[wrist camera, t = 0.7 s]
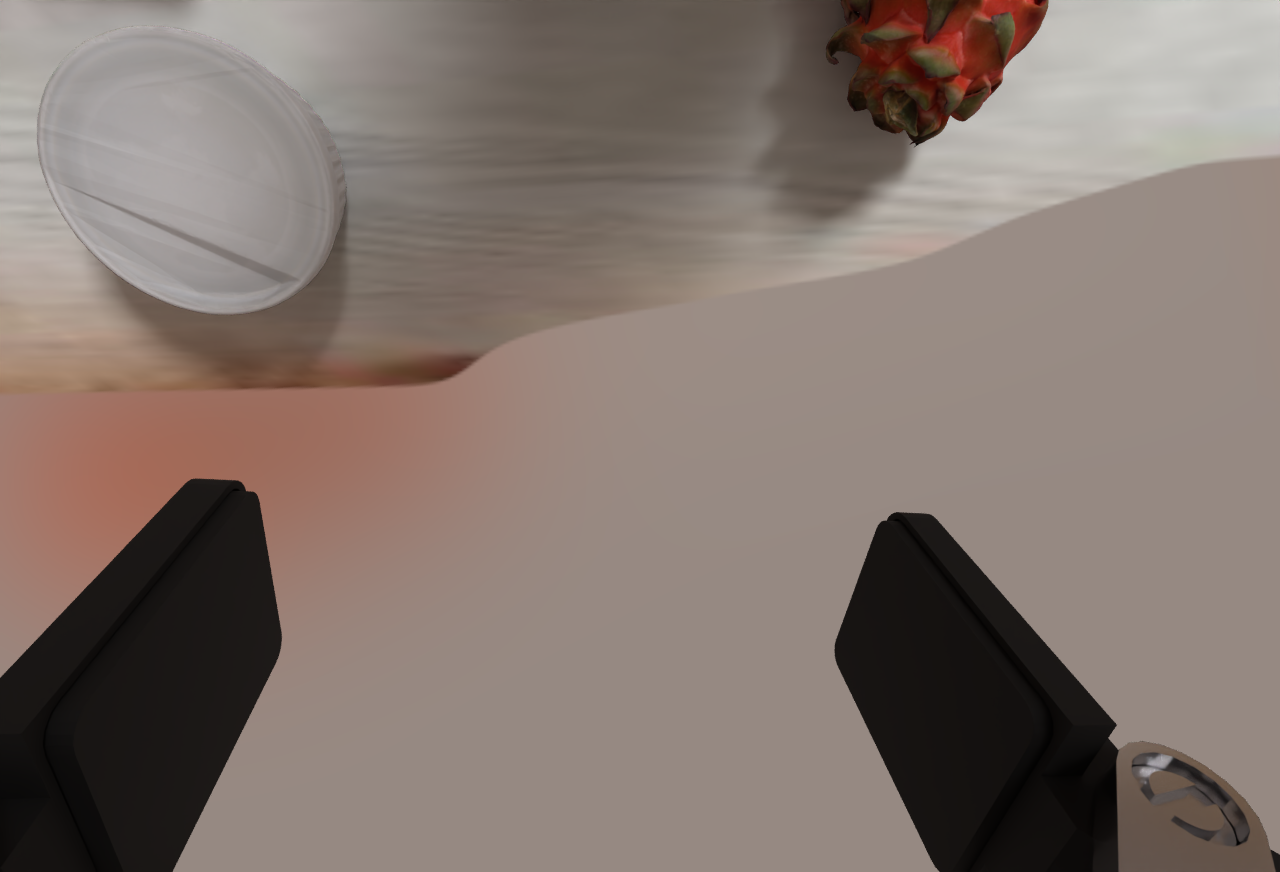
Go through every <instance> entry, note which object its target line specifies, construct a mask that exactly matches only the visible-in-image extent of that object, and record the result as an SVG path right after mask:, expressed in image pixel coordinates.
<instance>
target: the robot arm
mask: <svg viewBox="0 0 1280 872" xmlns="http://www.w3.org/2000/svg"><path fill="white" fill-rule="evenodd" d="M281 641H282V634H281V627H280V621H279V615H278V609H277V604H276V597H275V591H274V586H273V580H272V574H271V568H270V562H269V556H268V550H267V544H266V538H265V532H264V527H263V520H262V514H261V508H260V502H259V499H258V496H257V494H256V493H255V492H248V491H246V490H245V487H244V485H243V484H242V483H241V482H239V481H236V480H214V479H191V480H190V481H188V482H187V483H185V485H184V486H183V487H182V488H181V489H180V490H179V491H178V492H177V493H176V494H175V495H174V496H173V497H172V498H171V499H170V500H169V501H168V502H167V504H165V505H164V507H163V508H162V509H161V510H160V511H159V512H158V513H157V514H156V515H155V516H154V517H153V518H152V519H151V520H150V521H149V522H148V523H147V524H146V526H145V527H144V528H143V529H142V530H141V531H140V532H139V533H138V534H137V535H136V536H135V537H134V538H133V539H132V540H131V541H130V542H129V543H128V544H127V545H126V546H125V548H124V549H123V550H122V551H121V552H120V553H119V554H118V555H117V556H116V557H115V558H114V559H113V560H112V561H111V562H110V563H109V565H107V567H106V568H105V569H104V570H103V571H102V572H101V573H100V574H99V575H98V576H97V577H96V578H95V579H94V580H93V581H92V582H91V583H90V584H89V585H88V586H87V587H86V588H85V589H84V590H83V592H82V593H81V594H80V595H79V596H78V597H77V598H76V599H75V600H74V601H73V602H72V603H71V604H70V605H69V606H68V607H67V608H66V609H65V610H64V611H63V613H62V614H61V615H60V616H59V617H58V618H57V619H56V620H55V621H54V622H53V623H52V624H51V625H50V626H49V627H48V628H47V629H46V630H45V631H44V633H43V634H42V635H41V636H40V637H39V638H38V639H37V640H36V641H35V642H34V643H33V644H32V645H31V646H30V647H29V648H28V649H27V650H26V651H25V652H24V654H23V655H22V656H21V657H20V658H19V659H18V660H17V661H16V662H15V663H14V664H13V665H12V666H11V667H10V668H9V669H8V670H7V671H6V673H4V675H3V676H2V677H1V678H0V872H173V869H174V867H175V865H176V863H177V861H178V859H179V857H180V855H181V853H182V851H183V849H184V847H185V845H186V843H187V841H188V839H189V837H190V835H191V833H192V831H193V829H194V827H195V825H196V823H197V821H198V819H199V817H200V815H201V813H202V811H203V809H204V807H205V805H206V803H207V801H208V799H209V797H210V795H211V793H212V791H213V789H214V787H215V785H216V782H217V781H218V778H219V777H220V775H221V773H222V771H223V768H224V767H225V764H226V762H227V760H228V758H229V756H230V754H231V752H232V750H233V748H234V746H235V744H236V742H237V740H238V738H239V736H240V734H241V732H242V730H243V728H244V726H245V724H246V722H247V720H248V718H249V716H250V714H251V712H252V710H253V708H254V706H255V704H256V702H257V699H258V698H259V696H260V694H261V692H262V690H263V688H264V686H265V684H266V682H267V680H268V678H269V676H270V674H271V672H272V669H273V668H274V666H275V664H276V661H277V659H278V656H279V653H280V649H281ZM835 659H836V662H837V665H838V668H839V670H840V672H841V674H842V676H843V678H844V680H845V682H846V684H847V686H848V688H849V690H850V692H851V694H852V696H853V699H854V701H855V703H856V705H857V707H858V709H859V711H860V713H861V715H862V717H863V719H864V721H865V723H866V725H867V728H868V729H869V732H870V734H871V736H872V738H873V740H874V742H875V744H876V746H877V748H878V750H879V752H880V755H881V757H882V758H883V761H884V763H885V765H886V767H887V769H888V771H889V773H890V775H891V777H892V779H893V782H894V784H895V786H896V788H897V790H898V792H899V794H900V796H901V798H902V800H903V802H904V804H905V806H906V809H907V811H908V813H909V814H910V817H911V819H912V821H913V823H914V825H915V827H916V829H917V831H918V833H919V835H920V838H921V839H922V842H923V844H924V846H925V848H926V850H927V852H928V854H929V856H930V858H931V860H932V862H933V864H934V865H935V867H936V868H937V869H938V870H939V872H1280V855H1279V854H1278V853H1276V852H1274V851H1272V850H1270V847H1269V842H1268V838H1267V835H1266V832H1265V830H1264V828H1263V826H1262V823H1261V822H1260V819H1259V817H1258V816H1257V815H1256V813H1255V812H1254V811H1253V809H1252V808H1251V806H1250V805H1249V804H1248V803H1247V801H1246V800H1245V799H1244V798H1243V797H1242V796H1241V795H1240V794H1239V793H1238V792H1237V791H1236V790H1235V789H1234V788H1233V787H1232V786H1231V785H1230V784H1229V783H1228V782H1227V781H1225V780H1224V779H1223V778H1221V777H1220V776H1219V775H1217V774H1216V773H1215V772H1213V771H1212V770H1211V769H1209V768H1208V767H1206V766H1205V765H1203V764H1202V763H1200V762H1198V761H1196V760H1194V759H1193V758H1191V757H1189V756H1187V755H1186V754H1184V753H1182V752H1179V751H1177V750H1174V749H1171V748H1169V747H1166V746H1164V745H1161V744H1156V743H1150V742H1145V741H1139V742H1130V743H1127V744H1126V745H1125V746H1123V747H1122V748H1120V749H1119V750H1118V749H1117V748H1116V747H1115V746H1114V744H1113V743H1112V742H1111V741H1110V740H1109V739H1108V737H1109V736H1110V734H1111V733H1112V731H1113V730H1114V729H1115V727H1116V726H1117V725H1116V723H1115V722H1114V721H1113V720H1112V719H1111V718H1110V717H1109V715H1108V714H1107V713H1106V712H1105V711H1104V710H1103V709H1102V708H1101V706H1100V705H1099V704H1098V703H1097V702H1096V701H1095V699H1094V698H1093V697H1092V696H1091V695H1090V694H1089V693H1088V691H1087V690H1086V689H1085V688H1084V687H1083V686H1082V685H1081V683H1080V682H1079V681H1078V680H1077V679H1076V678H1075V677H1074V675H1072V673H1071V672H1070V671H1069V670H1068V669H1067V668H1066V666H1065V665H1064V664H1063V663H1062V662H1061V661H1060V660H1059V659H1058V657H1057V656H1056V655H1055V654H1054V653H1053V652H1052V651H1051V649H1050V648H1049V647H1048V646H1047V645H1046V644H1045V642H1044V641H1043V640H1042V639H1041V638H1040V637H1039V636H1038V635H1037V634H1036V632H1035V631H1034V630H1033V629H1032V628H1031V626H1030V625H1029V624H1028V623H1027V622H1026V621H1025V620H1024V618H1022V616H1021V615H1020V614H1019V613H1018V612H1017V611H1016V609H1015V608H1014V607H1013V606H1012V605H1011V604H1010V603H1009V601H1008V600H1007V599H1006V598H1005V597H1004V596H1003V595H1002V593H1001V592H1000V591H999V590H998V589H997V588H996V587H995V585H994V584H993V583H992V582H991V581H990V580H989V579H988V577H987V576H986V575H985V574H984V573H983V572H982V571H981V569H980V568H979V567H978V566H977V565H976V564H975V563H974V561H973V560H972V559H971V558H970V557H969V556H968V555H967V553H966V552H965V551H964V550H963V549H962V548H961V547H960V545H959V544H958V543H957V542H956V541H955V540H954V539H953V537H952V536H951V535H950V534H949V533H948V532H947V531H946V530H945V528H944V527H943V526H942V525H941V524H940V523H939V521H938V520H937V519H936V518H935V517H933V516H932V515H930V514H922V513H900V512H896V513H893V514H891V515H890V516H889V517H888V519H887V521H882V522H881V523H880V524H879V525H878V527H877V529H876V532H875V534H874V537H873V540H872V542H871V545H870V548H869V551H868V553H867V556H866V559H865V562H864V565H863V567H862V570H861V573H860V575H859V578H858V581H857V584H856V587H855V589H854V592H853V595H852V598H851V600H850V603H849V606H848V609H847V611H846V614H845V617H844V620H843V623H842V625H841V628H840V631H839V633H838V636H837V639H836V642H835Z"/></svg>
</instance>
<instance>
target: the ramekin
mask: <svg viewBox="0 0 1280 872" xmlns="http://www.w3.org/2000/svg"><path fill="white" fill-rule="evenodd" d="M37 145H38V155H39V160H40V165H41V168H42V172H43V175H44V178H45V180H46V183H47V186H48V188H49V191H50V193H51V195H52V197H53V199H54V201H55V203H56V205H57V207H58V209H59V210H60V212H61V214H62V216H63V217H64V219H65V220H66V222H67V223H68V225H69V226H70V227H71V229H72V230H73V232H74V233H75V235H76V236H77V237H78V238H79V239H80V241H81V242H82V243H83V244H84V245H85V246H86V247H87V248H88V250H89V251H90V252H91V253H92V254H93V255H94V256H95V257H96V258H97V259H98V260H100V261H101V262H102V263H103V264H104V265H105V266H106V267H107V268H109V269H110V270H111V271H113V272H114V273H115V274H116V275H118V276H119V277H120V278H122V279H123V280H124V281H126V282H128V283H129V284H131V285H132V286H134V287H135V288H137V289H139V290H141V291H142V292H144V293H146V294H148V295H150V296H152V297H154V298H156V299H159V300H161V301H163V302H165V303H168V304H171V305H173V306H176V307H179V308H182V309H187V310H191V311H195V312H199V313H206V314H213V315H238V314H246V313H252V312H257V311H261V310H264V309H268V308H270V307H273V306H275V305H278V304H280V303H282V302H283V301H285V300H287V299H289V298H291V297H292V296H293V295H295V294H296V293H298V292H299V291H301V290H302V289H303V288H304V287H305V286H307V285H308V284H309V283H310V282H311V280H312V279H313V278H314V277H315V276H316V275H317V274H318V272H319V271H320V270H321V268H322V267H323V265H324V264H325V262H326V260H327V258H328V256H329V254H330V252H331V249H332V247H333V244H334V241H335V237H336V234H337V232H338V231H339V228H340V224H341V220H342V218H343V215H344V207H345V205H346V196H345V193H346V183H345V179H344V170H343V168H342V164H341V158H340V156H339V154H338V151H337V148H336V144H335V142H334V141H333V139H332V137H331V135H330V132H329V131H328V129H327V128H326V126H325V125H324V124H323V121H322V119H321V118H320V117H319V116H318V114H316V113H315V111H314V110H313V108H312V107H311V105H310V104H309V103H308V102H306V101H305V100H304V99H303V98H302V97H301V96H300V95H299V94H298V92H297V91H295V90H294V89H292V88H290V87H289V86H288V85H287V84H286V83H285V82H284V81H283V80H281V79H280V78H278V77H276V76H274V75H273V74H272V73H271V72H270V71H268V70H267V69H266V68H265V67H263V66H262V65H261V64H259V63H258V62H257V61H255V60H254V59H252V58H251V57H249V56H247V55H246V54H244V53H243V52H241V51H239V50H237V49H236V48H234V47H232V46H230V45H228V44H226V43H224V42H222V41H219V40H217V39H214V38H211V37H208V36H205V35H202V34H199V33H196V32H192V31H187V30H182V29H177V28H171V27H163V26H131V27H125V28H119V29H115V30H112V31H109V32H106V33H103V34H100V35H98V36H95V37H93V38H91V39H89V40H87V41H85V42H84V43H82V44H81V45H79V46H78V47H76V48H75V49H74V50H73V51H72V52H71V53H69V54H68V55H67V56H66V57H65V58H64V59H63V60H62V62H61V63H60V64H59V66H58V67H57V68H56V69H55V71H54V72H53V74H52V75H51V77H50V79H49V81H48V82H47V84H46V87H45V90H44V93H43V96H42V99H41V104H40V108H39V113H38V122H37Z"/></svg>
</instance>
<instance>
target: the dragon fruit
mask: <svg viewBox="0 0 1280 872" xmlns="http://www.w3.org/2000/svg"><path fill="white" fill-rule="evenodd" d="M841 5H842V7H843V9H844V17H845V20H846V22H847V24H848V26H845V27H843V28H841V29H839V30H838V31H837V32H836V33H835V34H834V35H833V36H832V38H831V39H830V41H829V42H828V45H827V47H826V57H827V60H828V61H829V62H830V63H831V64H833V65H835V64H838V63H839V62H838V60H837V59H836V58H835V57H833V56H832V55H833V54H834V53H836V52H837V51H844V52H848V53H852V54H854V55H856V56H859V57H860V59H861V61H862V62H861V63H860V65H859V67H858V69H857V72H856V73H855V74H854V75H853V77H852V79H851V81H850V84H849V91H848V97H847V100H848V102H849V104H850V106H851V108H853V110H854V112H855V111H860V110H864V109H868V110H869V111H870V112H871V114H872V119H873V122H874V124H875V126H877V127H879V128H880V129H882V130H885V131H888V132H891V133H900V132H902V131H903V130H906V132H907V134H908V136H909V138H910V139H911V140H912V141H913V142H912V143H915V144H916V146H917V145H918V144H920V143H923V142H925V141H926V140H928V139H930V138H933V137H934V136H936V135H938V134H939V133H940V132H942V131H943V129H944V128H945V126H946V124H947V121H948V119H949V116H952V117H953V118H955V119H956V120H958V121H966V120H967V119H968V118H970V117H971V116H973V115H974V114H975V113H976V112H977V111H978V110H979V109H980V107H981V106H982V104H983V102H984V101H986V100H987V98H988V97H989V96H990V95H991V94H992V93H993V92H994V91H995V90H996V89H997V88H998V87H999V86H1000V84H1001V83H1002V80H1003V69H1004V68H1005V66H1006V65H1007V64H1008V62H1009V61H1010V60H1011V59H1012V58H1013V57H1014V56H1015V55H1016V54H1018V53H1019V52H1020V51H1021V50H1023V49H1024V48H1025V47H1026V46H1027V44H1028V43H1029V42H1030V41H1031V39H1032V38H1033V37H1034V35H1035V34H1036V33H1037V31H1038V30H1039V28H1040V26H1041V24H1042V21H1043V19H1044V17H1045V15H1046V11H1047V9H1048V0H841ZM857 11H858V12H859V13H858V12H857ZM859 15H860V16H859ZM912 143H910V145H911V144H912ZM916 146H915V147H916Z"/></svg>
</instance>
